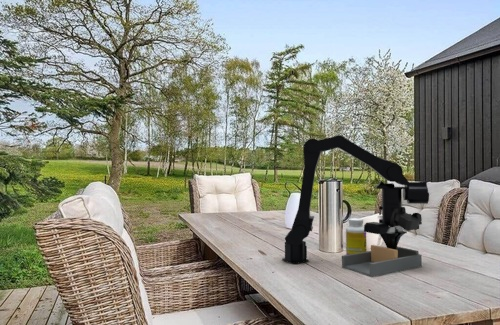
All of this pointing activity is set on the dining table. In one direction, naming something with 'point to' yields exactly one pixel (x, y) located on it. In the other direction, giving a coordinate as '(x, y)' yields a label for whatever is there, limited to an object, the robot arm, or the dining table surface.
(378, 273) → the dark grey tray
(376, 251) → the block
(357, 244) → the supplement bottle
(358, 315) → the dining table surface
